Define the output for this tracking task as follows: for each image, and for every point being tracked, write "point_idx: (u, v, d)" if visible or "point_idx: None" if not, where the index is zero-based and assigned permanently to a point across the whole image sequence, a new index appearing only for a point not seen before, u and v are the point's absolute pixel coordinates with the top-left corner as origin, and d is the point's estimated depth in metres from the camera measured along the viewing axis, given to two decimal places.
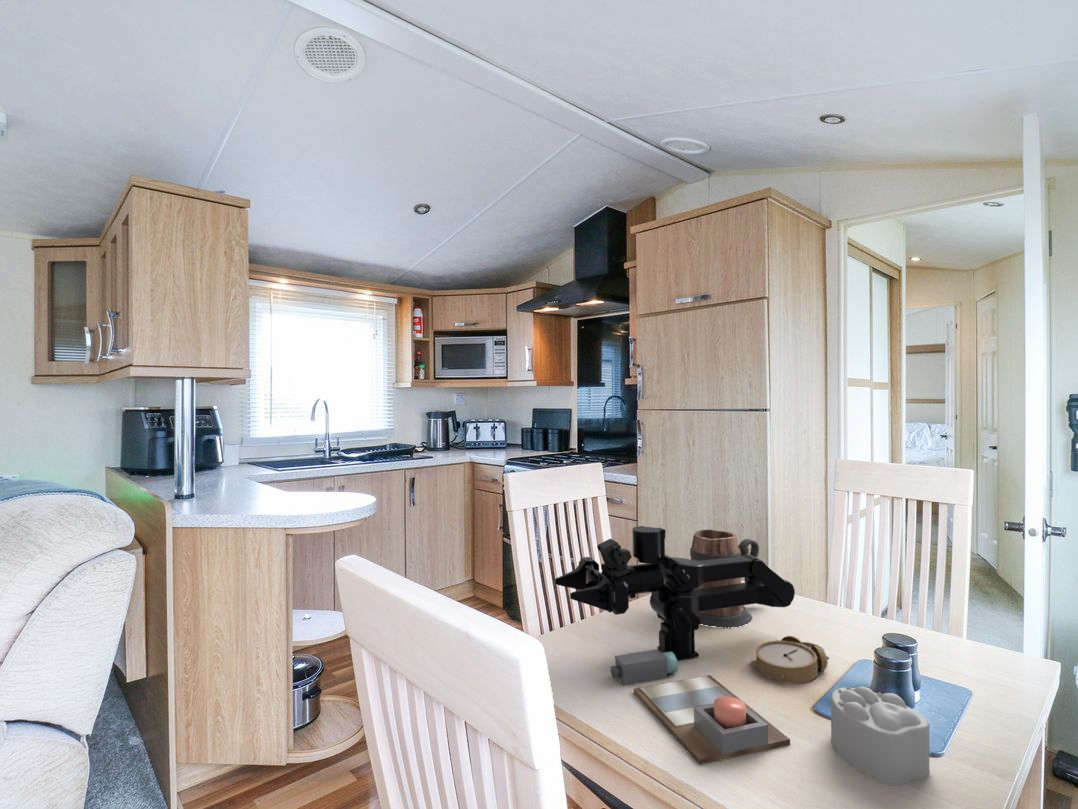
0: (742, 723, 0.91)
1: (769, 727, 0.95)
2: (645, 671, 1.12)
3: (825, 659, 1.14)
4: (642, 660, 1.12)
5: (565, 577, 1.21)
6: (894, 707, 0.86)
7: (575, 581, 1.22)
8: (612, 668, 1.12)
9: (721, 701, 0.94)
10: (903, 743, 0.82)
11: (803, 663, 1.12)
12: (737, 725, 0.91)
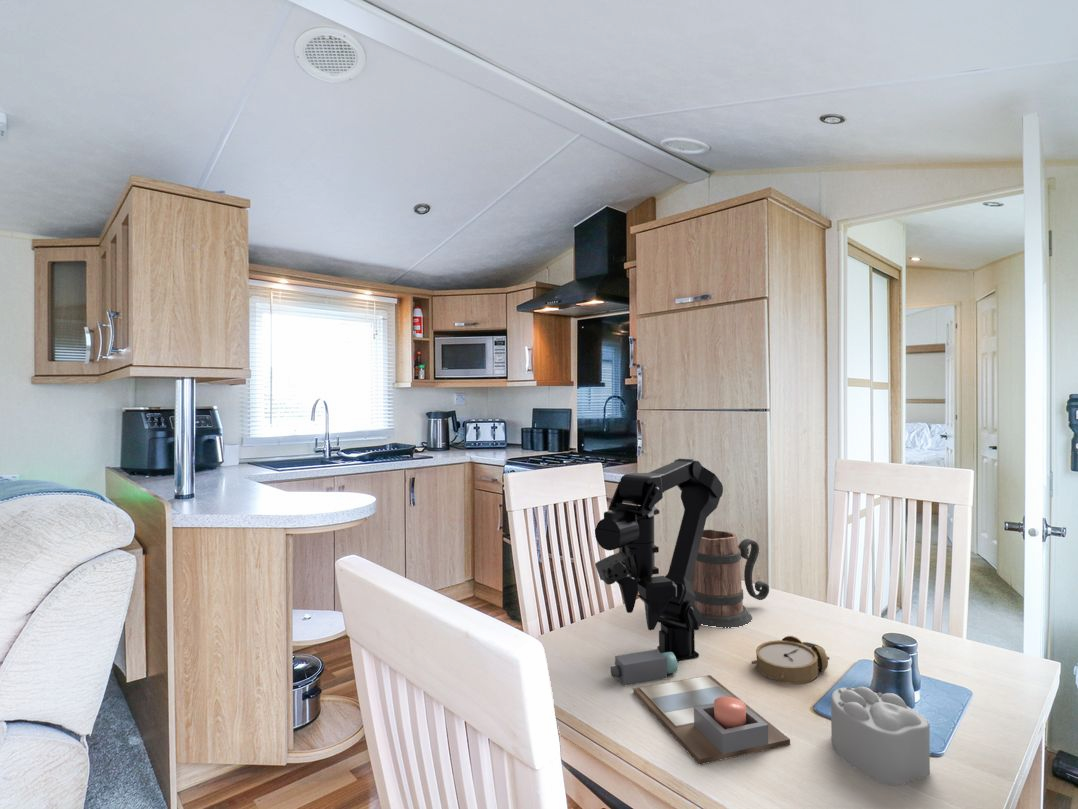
0: (742, 723, 0.91)
1: (769, 727, 0.95)
2: (645, 671, 1.12)
3: (825, 659, 1.14)
4: (641, 660, 1.12)
5: (626, 602, 1.18)
6: (894, 707, 0.86)
7: (631, 589, 1.18)
8: (612, 668, 1.12)
9: (721, 701, 0.94)
10: (903, 743, 0.82)
11: (803, 663, 1.12)
12: (737, 725, 0.91)
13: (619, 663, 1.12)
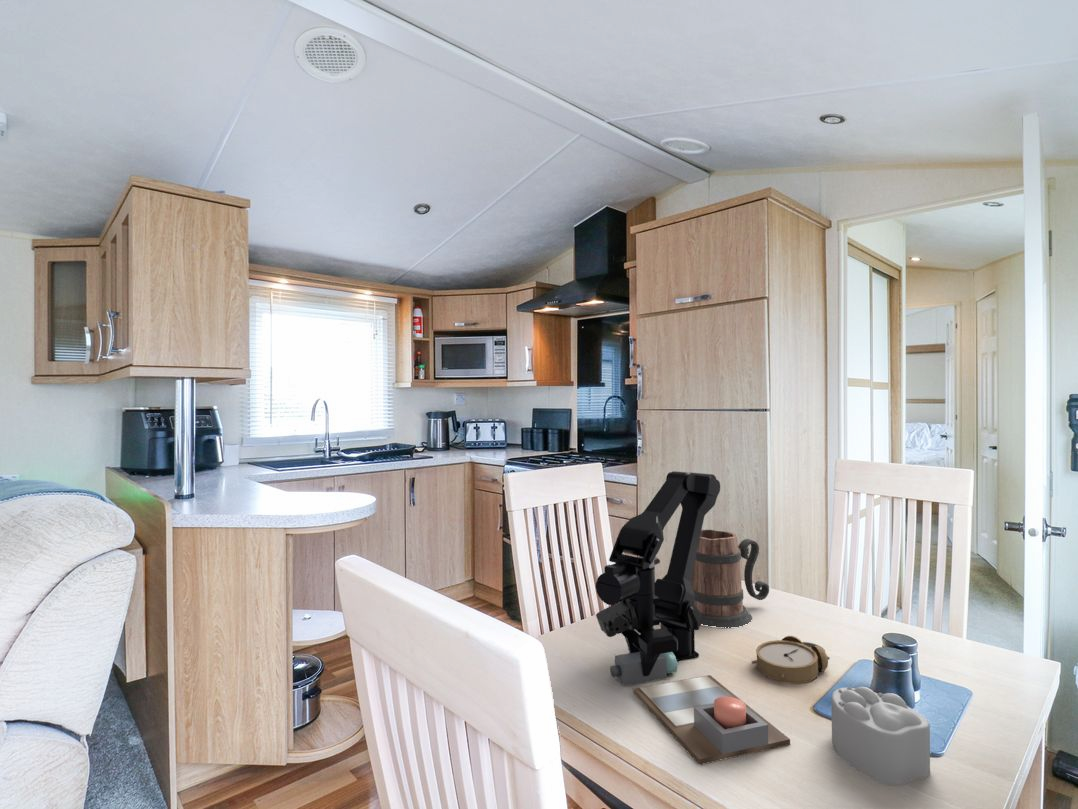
0: (742, 723, 0.91)
1: (769, 727, 0.95)
2: None
3: (825, 659, 1.14)
4: None
5: None
6: (895, 707, 0.86)
7: (637, 642, 1.16)
8: (612, 668, 1.12)
9: (721, 701, 0.94)
10: (903, 743, 0.82)
11: (804, 663, 1.12)
12: (737, 725, 0.91)
13: (619, 663, 1.12)
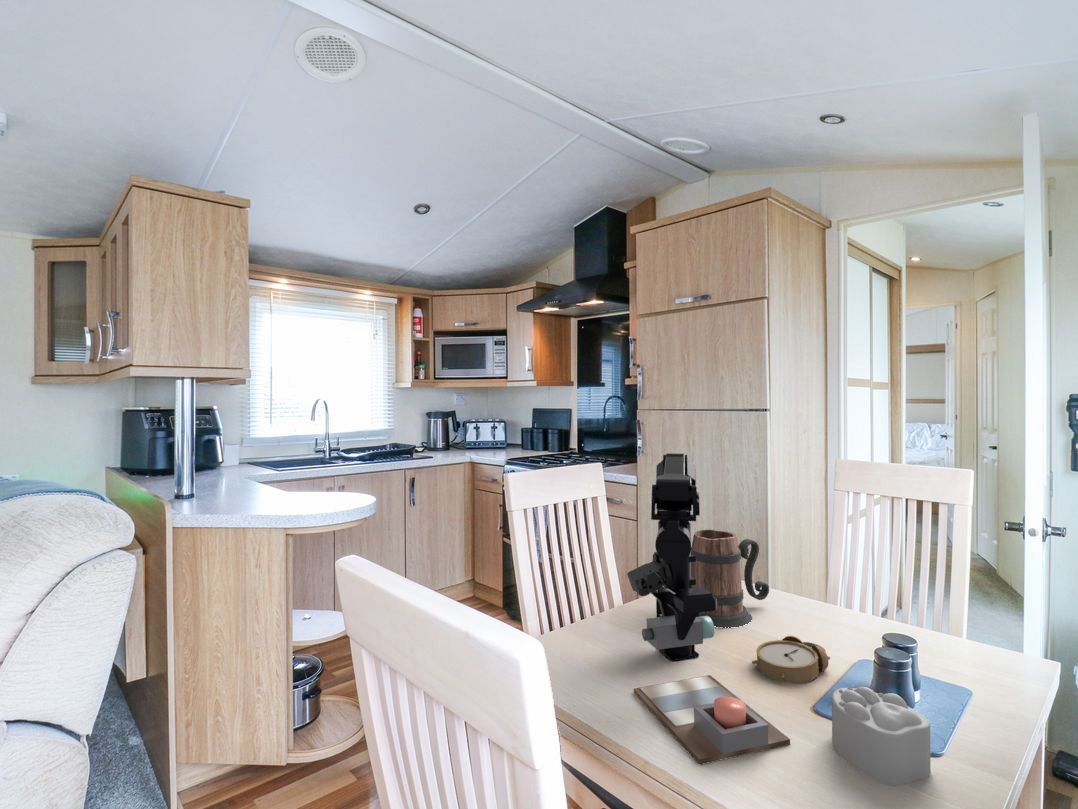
0: (742, 723, 0.91)
1: (769, 727, 0.95)
2: None
3: (826, 659, 1.14)
4: (675, 623, 1.04)
5: None
6: (895, 707, 0.86)
7: None
8: (643, 631, 1.04)
9: (721, 701, 0.94)
10: (904, 743, 0.82)
11: (804, 663, 1.12)
12: (737, 725, 0.91)
13: (651, 625, 1.05)
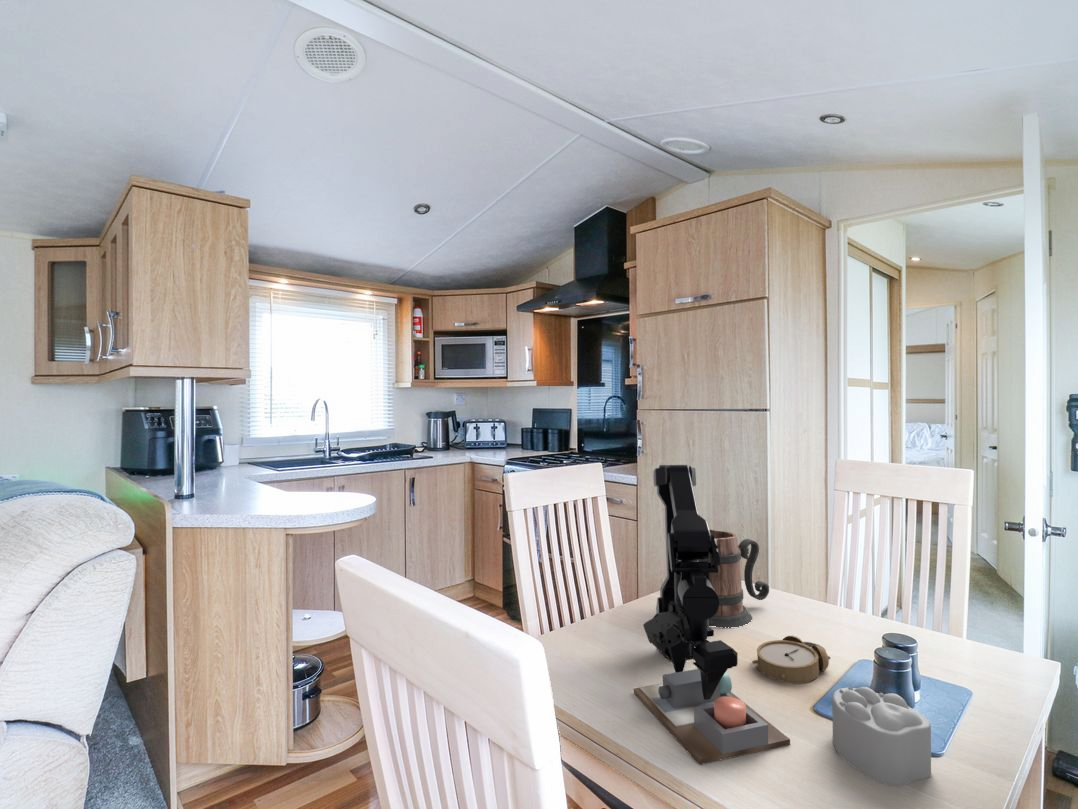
0: (742, 723, 0.91)
1: (769, 727, 0.95)
2: (697, 692, 1.02)
3: (826, 659, 1.14)
4: (693, 680, 1.02)
5: (676, 663, 1.08)
6: (896, 707, 0.86)
7: (680, 649, 1.08)
8: (660, 688, 1.02)
9: (721, 701, 0.94)
10: (904, 743, 0.82)
11: (804, 663, 1.13)
12: (737, 725, 0.91)
13: (668, 683, 1.02)
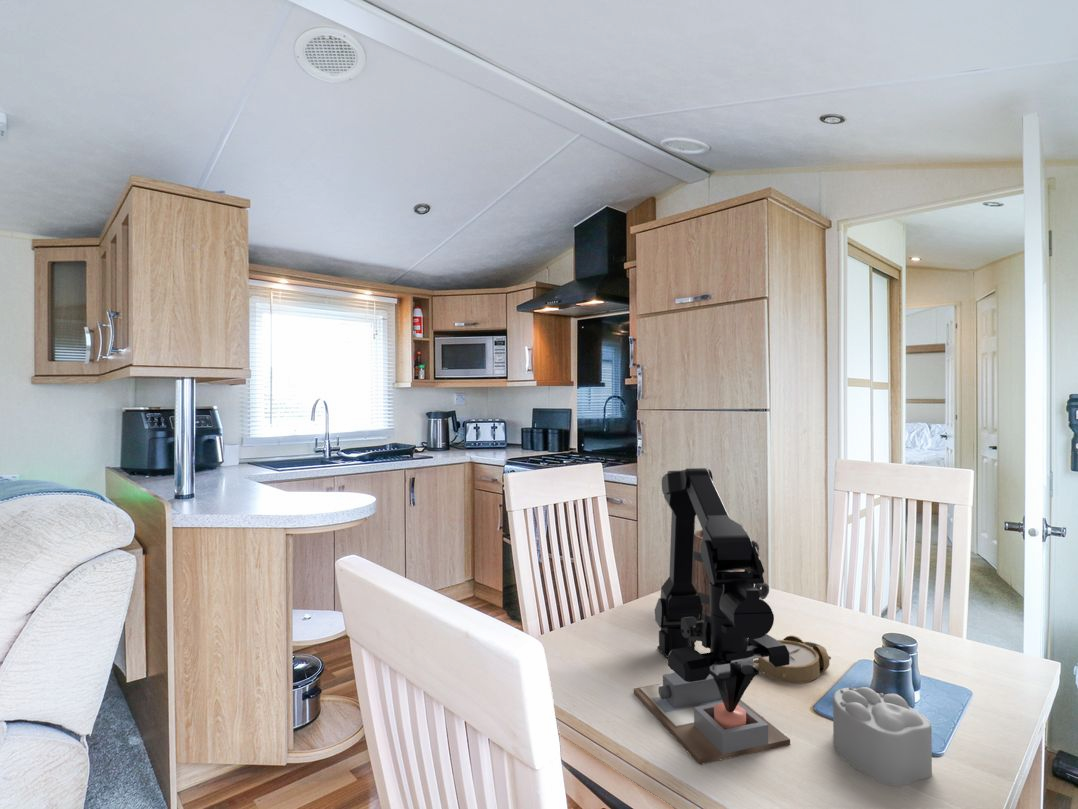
0: None
1: (769, 727, 0.95)
2: (697, 692, 1.02)
3: (827, 659, 1.14)
4: None
5: None
6: (896, 708, 0.86)
7: None
8: (660, 688, 1.02)
9: (721, 707, 0.94)
10: (905, 743, 0.82)
11: (805, 663, 1.13)
12: None
13: (668, 683, 1.02)
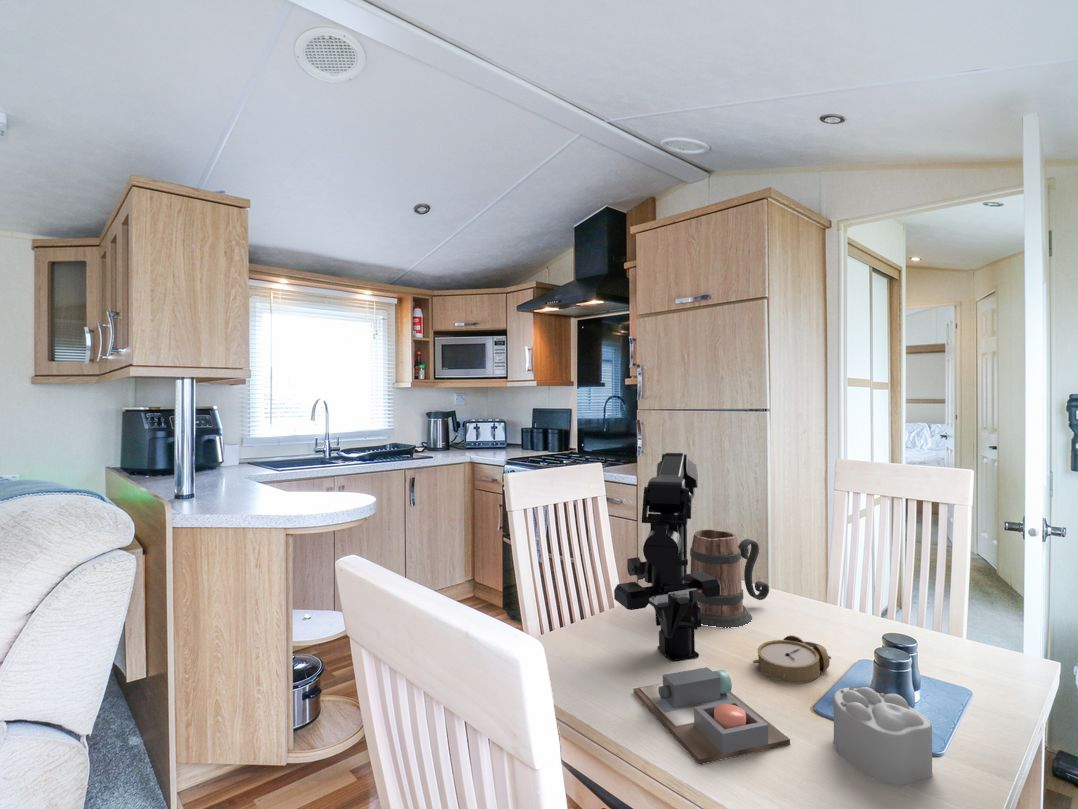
0: None
1: (769, 727, 0.95)
2: (697, 692, 1.02)
3: (827, 659, 1.14)
4: (693, 680, 1.02)
5: None
6: (897, 708, 0.86)
7: None
8: (660, 688, 1.02)
9: (721, 708, 0.94)
10: (905, 743, 0.82)
11: (805, 662, 1.13)
12: None
13: (668, 683, 1.02)
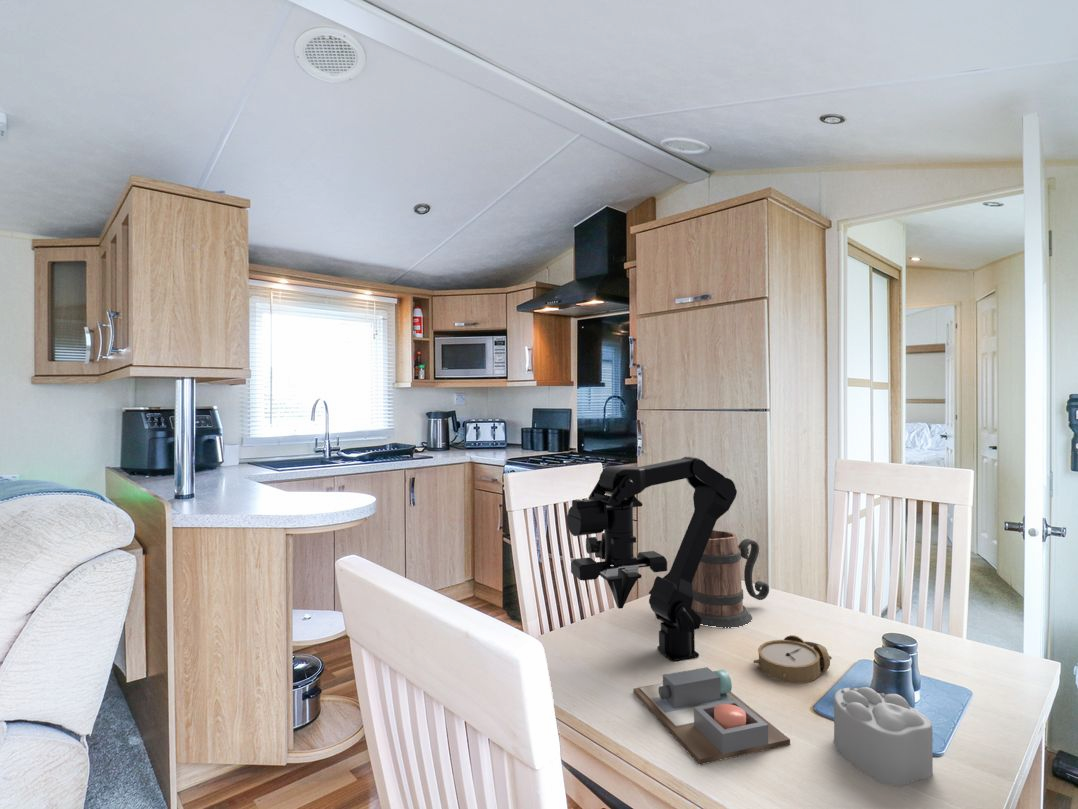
0: None
1: (769, 727, 0.95)
2: (697, 692, 1.02)
3: (827, 659, 1.14)
4: (693, 680, 1.02)
5: None
6: (897, 708, 0.86)
7: (622, 586, 1.17)
8: (660, 688, 1.02)
9: (721, 708, 0.94)
10: (906, 743, 0.82)
11: (806, 662, 1.13)
12: None
13: (668, 683, 1.02)
